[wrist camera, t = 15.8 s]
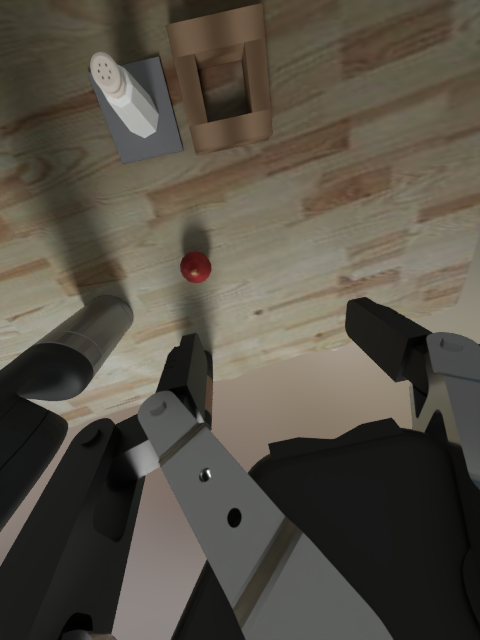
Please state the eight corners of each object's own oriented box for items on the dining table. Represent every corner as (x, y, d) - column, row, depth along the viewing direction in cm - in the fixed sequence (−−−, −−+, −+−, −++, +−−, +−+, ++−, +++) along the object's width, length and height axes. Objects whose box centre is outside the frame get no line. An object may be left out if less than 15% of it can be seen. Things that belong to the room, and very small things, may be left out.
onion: (199, 281, 44) (196, 296, 37) (177, 263, 41) (169, 274, 35) (217, 262, 42) (217, 273, 35) (195, 242, 40) (191, 249, 33)
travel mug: (180, 352, 53) (162, 423, 35) (208, 345, 52) (204, 413, 35) (190, 372, 56) (178, 446, 39) (216, 366, 56) (216, 437, 39)
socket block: (197, 155, 33) (195, 150, 30) (171, 45, 27) (165, 24, 24) (267, 140, 33) (272, 133, 30) (257, 25, 27) (262, 3, 24)
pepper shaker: (127, 138, 31) (86, 108, 21) (115, 87, 28) (63, 27, 19) (162, 138, 31) (139, 108, 22) (154, 88, 29) (124, 30, 19)
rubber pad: (123, 163, 33) (122, 163, 32) (89, 75, 28) (87, 72, 27) (183, 150, 33) (182, 149, 32) (159, 59, 28) (158, 56, 27)
